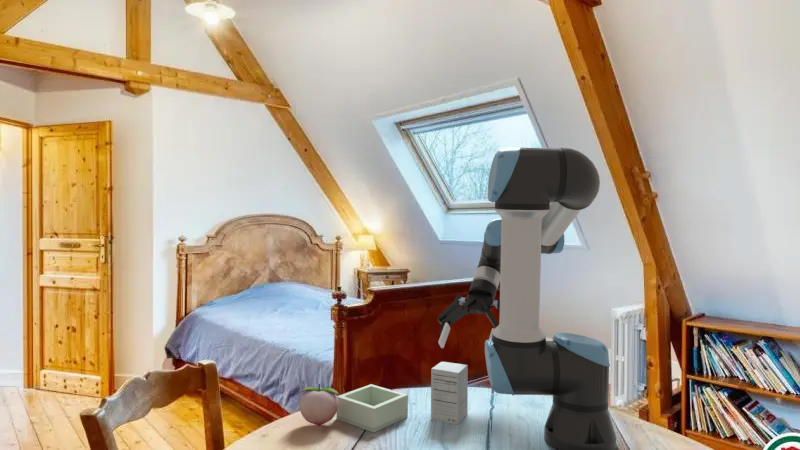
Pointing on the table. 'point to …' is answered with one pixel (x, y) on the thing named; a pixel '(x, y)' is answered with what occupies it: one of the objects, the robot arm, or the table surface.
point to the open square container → (372, 407)
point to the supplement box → (449, 392)
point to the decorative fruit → (318, 404)
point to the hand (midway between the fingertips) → (463, 348)
